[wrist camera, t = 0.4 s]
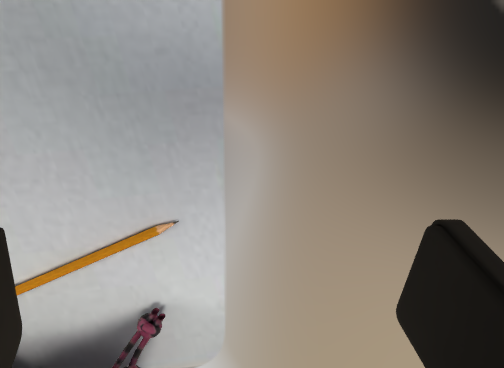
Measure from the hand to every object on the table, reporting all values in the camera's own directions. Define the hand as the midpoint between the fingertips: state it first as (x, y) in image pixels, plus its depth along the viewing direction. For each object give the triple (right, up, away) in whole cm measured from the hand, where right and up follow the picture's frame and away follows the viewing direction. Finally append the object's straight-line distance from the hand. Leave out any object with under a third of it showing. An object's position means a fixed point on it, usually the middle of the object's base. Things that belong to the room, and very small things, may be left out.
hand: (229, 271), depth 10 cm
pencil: (-13, -4, +20) cm, 24 cm away
